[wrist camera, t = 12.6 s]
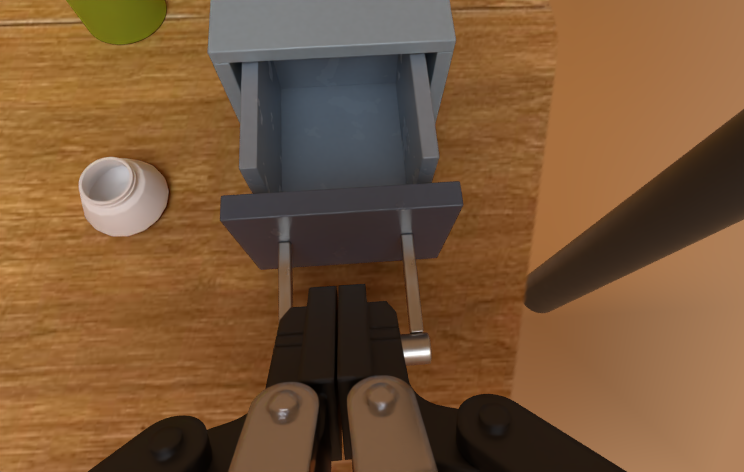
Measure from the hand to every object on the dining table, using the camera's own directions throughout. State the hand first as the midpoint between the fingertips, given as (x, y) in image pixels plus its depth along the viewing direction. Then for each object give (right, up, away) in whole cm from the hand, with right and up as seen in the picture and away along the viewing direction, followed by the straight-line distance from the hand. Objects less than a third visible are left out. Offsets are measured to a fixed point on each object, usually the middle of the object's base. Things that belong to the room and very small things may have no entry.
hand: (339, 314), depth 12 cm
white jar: (-14, +4, +17) cm, 22 cm away
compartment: (-1, +3, +15) cm, 16 cm away
